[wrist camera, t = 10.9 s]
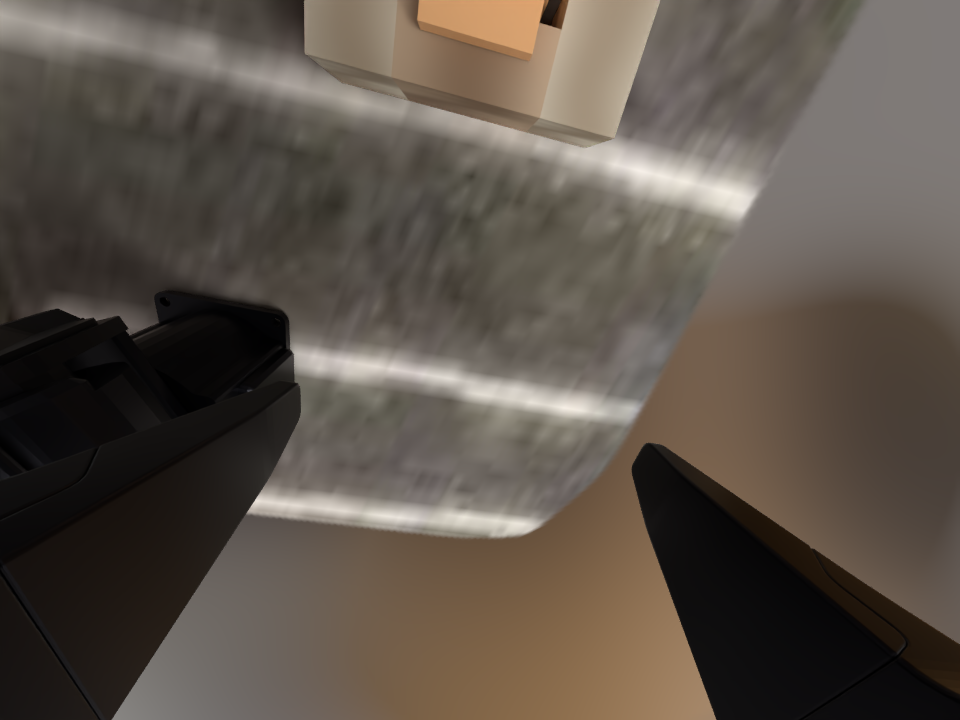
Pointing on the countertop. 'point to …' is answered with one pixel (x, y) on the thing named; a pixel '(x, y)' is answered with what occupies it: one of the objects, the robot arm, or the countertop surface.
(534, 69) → the beige notched square frame
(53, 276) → the countertop surface
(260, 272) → the countertop surface
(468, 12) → the block
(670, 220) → the countertop surface
